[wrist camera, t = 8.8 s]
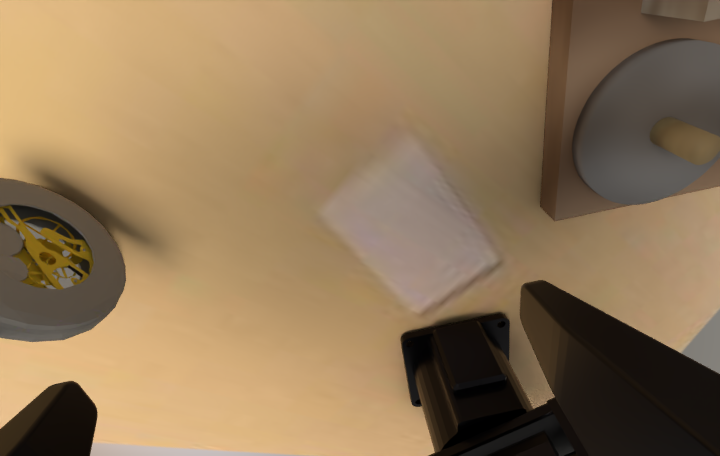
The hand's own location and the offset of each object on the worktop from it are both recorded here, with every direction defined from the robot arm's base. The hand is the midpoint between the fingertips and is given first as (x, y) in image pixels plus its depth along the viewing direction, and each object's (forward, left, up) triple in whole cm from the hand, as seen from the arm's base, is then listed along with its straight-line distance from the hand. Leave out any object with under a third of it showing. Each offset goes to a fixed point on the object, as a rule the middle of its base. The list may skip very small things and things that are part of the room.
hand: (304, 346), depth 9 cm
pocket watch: (-2, +12, -12) cm, 17 cm away
